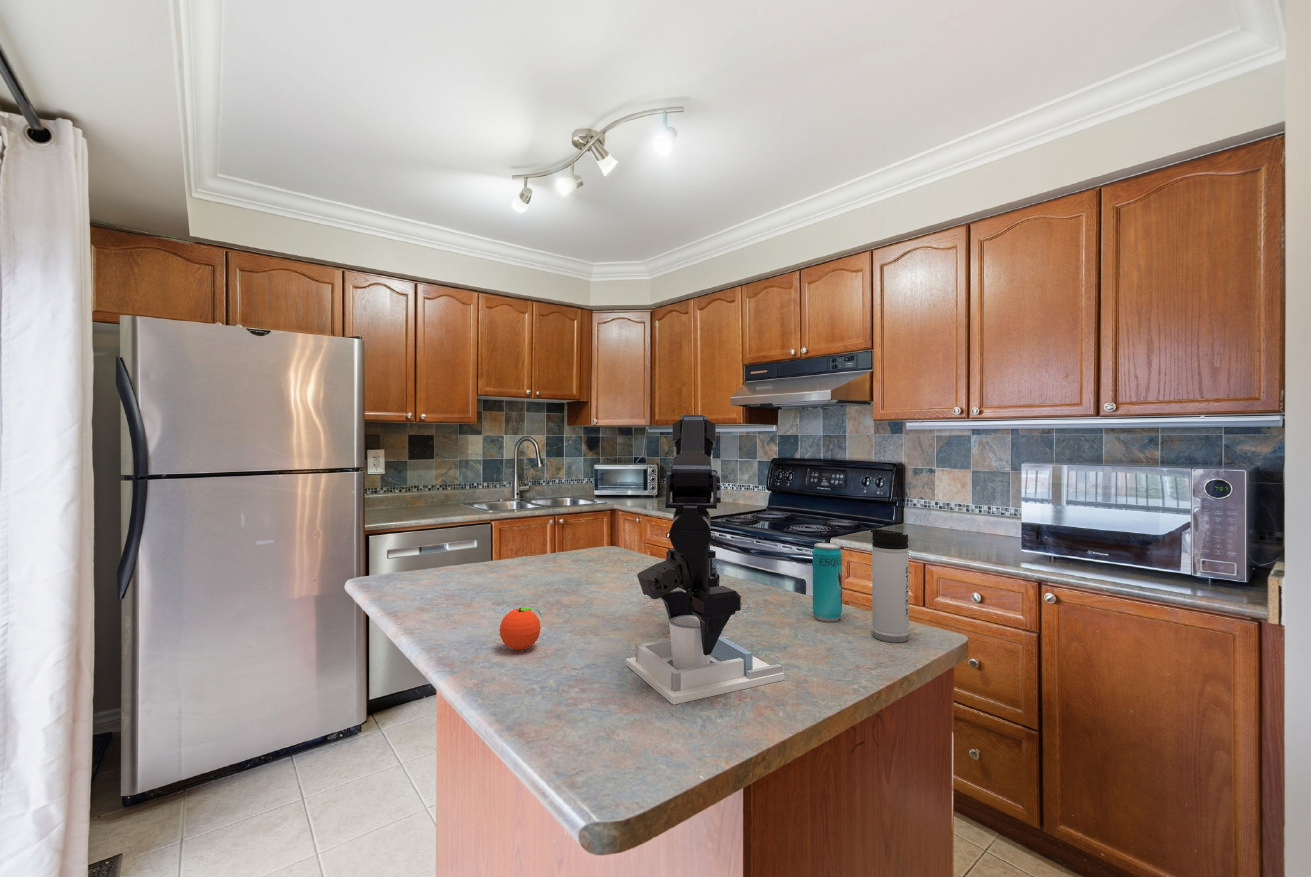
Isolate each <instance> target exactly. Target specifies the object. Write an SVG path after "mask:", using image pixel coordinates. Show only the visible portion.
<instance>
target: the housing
mask: <svg viewBox="0 0 1311 877" xmlns="http://www.w3.org/2000/svg"><path fill="white" fill-rule="evenodd" d="M723 637H724V638H725V639H727V640H729V641H730V637H728V636H726V635H725V636H723ZM625 666H627V668H629V669H630V670H631V671H632V672H634V673H635V674H636V675H637V676H638V677H640V678H641V680H643V681H644V682H646V683H647V684H648V685H649V686H650V687H651V688H653V690H655V691H656V692H657V693H658V694H659V695H661V696H662V697H663V698H664V699H665V700H667V702H669V703H671V704H672V705H677V704H683V703H686V702H691V701H696V700H701V699H705V698H710V697H713V696H718V695H722V694H727V693H732V692H737V691H742V690H745V689H750V688H754V687H759V686H763V685H764V686H765V685H768V684H772V683H776V682H777V683H778V682H781V681H782V682H783V681H785V672H783V665H781V664H779V663H776V664H773V665H772V664H771V665H770V664H768V663H767V662H764V661H763V660H761V659H759V658H757V657H755V656H754V655H753V669H752V670H747V671H746V676H745V675H744V660H743V659H741V658H737V659H732V660H727V661H720V660H719V659H717V658H715V657H714V656H712V655H711V654H710V664H706V665H701V666H696V667H690V668H685V669H680V670H677V669H675V668H674V667H673V661H672V649H671V638H669V639H663V640H657V641H650V642H645V643H639V644H635V656H634V657H627V658H625Z"/></svg>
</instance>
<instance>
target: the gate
mask: <svg viewBox="0 0 1311 877" xmlns="http://www.w3.org/2000/svg"><path fill="white" fill-rule="evenodd" d="M724 637H725V636H722V635H720V636H719V638H718V640H717V643H716V645H715V647H714V649H713V651H712V653H711V655H712V656H714V657H715V658H717V659H719V660H720V661H727V660H732V659H737V658H741V659H743V660H744V675H745V676H746V671H747V670H752V669H753V656H754V655H753V652H752V651H750V650H747V649H746V648H745V647H742V646H741V645H739V644H737V643H735V642H733V641H731V640H730V639H729V640H727V639H725V638H724Z"/></svg>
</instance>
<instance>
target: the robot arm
mask: <svg viewBox="0 0 1311 877" xmlns="http://www.w3.org/2000/svg"><path fill="white" fill-rule="evenodd" d="M716 425H717V424H716V423H715V422H712V421H711V420H709V419H708V416H707V415H704V414H682V415H680V416H679V420H677V421H676V422H673V423H672V424H671V427H672V428H671V429H672V431H671V432H672V433H671V435H672V436H671V439H672V440H671V443H672V444H671V445H672V448H675V453H676V455H675V456H674V457H673V458H672V460H671V467H670V468H671V469H667V470H666V483H665V486H666V487H665V502H664V503H665V504H664V506H665V509H675V510H674V513H673V514H672V519H673V521H672V523H671V526H670V529H669V535H668V536H669V541H670V543H671V545H672V547H673V548H668V549H667V551H666V553H665V554H666V558H665V560H663V561H660V562H657V563H656V564H653V565H651V566H650V567H647V568H646V569H644V570H641V571H640V572H638V573H637V574H636V576H637V580H638V582H639V585H640V588H641V591H642V594H643V595H644V596H648V597H650V599H652V600H659V599H660V600H661V601H662V603H664V608H665V609H666V614H667V616H668V620H669V621H670V619H672V618H674V617H678V616H685V615H695V616H696V617H697V618H698V619H699V621H700V629H701V639H702V648H703V654H704V655H710V654H711V653H712V651H713V649H714V647H715V645H716V643H717V640H718V638H719V636H721V634H722V632H723V630H724V629H725V627H726V625H727V623H728V621H730V618H731V616H733V615H736V612H739V611H740V612H741V610H742V596H741V595H740V593H738V591H737V590H735V589H734V588H733V589H732V588H730V587H729V586H725V585H720V574H719V573H718V571H717V567H715V566H714V567H713V559H716V556H717V555H716V553H717V552H716V551H715V550H712V549H711V537H712V530H711V513H710V512H709V510H710V509H711V510H716V509H718V504H721V501H722V499H721V498H722V496H721V494H722V493H721V491H722V490H721V476H719V474H718V470H717V469H713V462H712V461H713V460H712V458H713V456H712V454H713V448H716V444H717V443H716V441H717V440H716V438H717V435H716V434H717V433H716V431H717V428H716V427H717V426H716ZM711 500H712V501H711Z"/></svg>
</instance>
